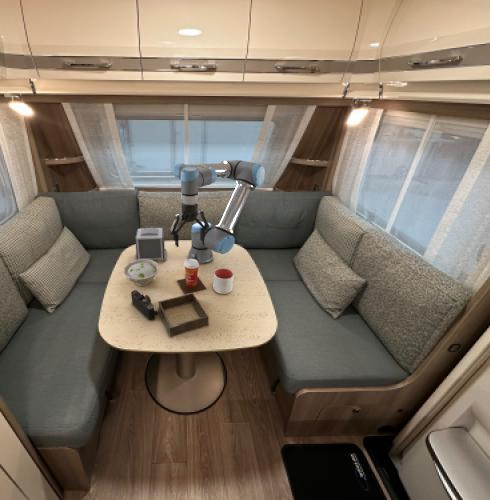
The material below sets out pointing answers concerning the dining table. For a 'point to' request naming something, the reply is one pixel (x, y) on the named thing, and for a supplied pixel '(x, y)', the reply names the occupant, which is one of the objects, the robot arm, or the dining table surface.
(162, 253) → the grey speaker box
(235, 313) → the dining table surface
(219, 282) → the cup
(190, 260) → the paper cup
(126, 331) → the dining table surface
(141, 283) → the bowl
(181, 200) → the robot arm
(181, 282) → the coaster mat
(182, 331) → the wooden tray
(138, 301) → the camera
